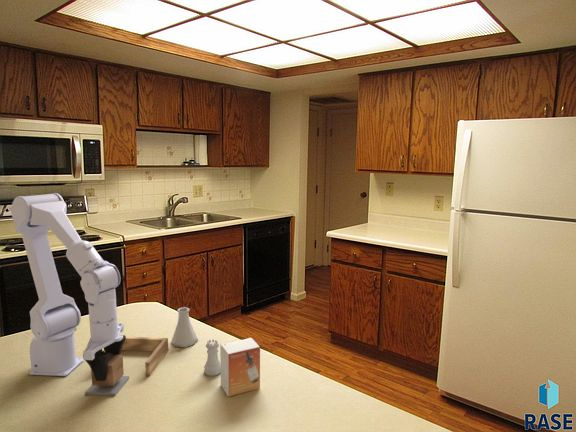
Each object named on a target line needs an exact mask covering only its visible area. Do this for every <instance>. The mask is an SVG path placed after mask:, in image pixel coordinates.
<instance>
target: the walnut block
mask: <svg viewBox="0 0 576 432" xmlns="http://www.w3.org/2000/svg"><path fill="white" fill-rule="evenodd" d="M123 357H124V355H123V354H120V355H116V354H111V355H110V357H109V360H108V365H107V377H106V380H105V381H96V379H95V377H94V374H93V372H92V369H91V368H90V373H91V375H90V376H91V385H97V386H114V385H115V384H116V383H117V382H118V380H119V379H120V378H121V377H122V376H124V374H125V373H124V360H123V359H124V358H123Z"/></svg>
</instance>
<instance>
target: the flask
mask: <svg viewBox="0 0 576 432" xmlns="http://www.w3.org/2000/svg"><path fill="white" fill-rule="evenodd" d="M189 312H190V308H188V307H186V306H184V307H179V308H178V309H177V313H178V319H177V323H176V326H175V330H174V333H173V335H172V338H171V340H170V343H171V345H173V346H174V347H178V348H187V347H190V346H193V345H195V344H196V343H197V342H198V341H199V339H198V337H197V334H196V332H195V330H194V327H193V326H192V323H191V319H190V315H189V314H190V313H189Z"/></svg>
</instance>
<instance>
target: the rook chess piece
mask: <svg viewBox="0 0 576 432" xmlns="http://www.w3.org/2000/svg"><path fill="white" fill-rule="evenodd" d="M219 347H220V344H219V343H218V340H216V339H212V340H211V339H209V340H208V341H207V342H206V345H205V348H206V349H207V351H206V353H207V359H206V362H205V364H204V366H203V368H204V370H203V371H204V373H205V375H207V376H209V377H215V376H218V375H220V374H221V360H219V355H218V354H219V353H218V352H219V349H218V348H219Z"/></svg>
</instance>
